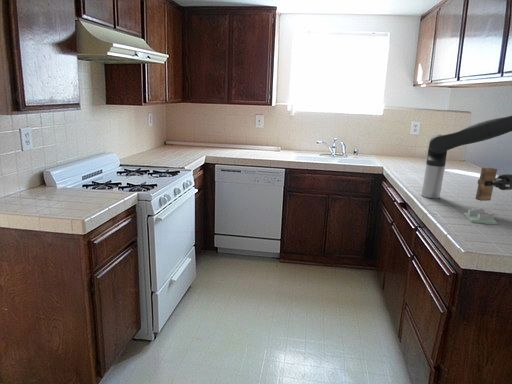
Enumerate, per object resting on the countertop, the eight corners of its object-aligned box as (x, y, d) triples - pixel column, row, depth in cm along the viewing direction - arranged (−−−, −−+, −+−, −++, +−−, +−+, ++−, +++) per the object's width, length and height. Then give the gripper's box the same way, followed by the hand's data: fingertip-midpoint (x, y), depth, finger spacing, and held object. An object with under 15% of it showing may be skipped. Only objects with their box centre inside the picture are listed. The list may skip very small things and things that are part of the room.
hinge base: (463, 214, 185) (465, 207, 185) (488, 217, 183) (489, 209, 183) (470, 222, 175) (472, 213, 174) (496, 224, 173) (498, 216, 172)
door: (473, 199, 190) (480, 167, 186) (485, 198, 192) (491, 167, 188) (479, 200, 187) (485, 169, 183) (490, 200, 189) (497, 169, 185)
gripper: (498, 171, 197) (471, 171, 192) (525, 177, 184) (496, 178, 179) (495, 186, 199) (468, 186, 194) (521, 193, 186) (492, 194, 181)
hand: (481, 182), depth 186 cm, fingers closed on door, 3 cm apart
